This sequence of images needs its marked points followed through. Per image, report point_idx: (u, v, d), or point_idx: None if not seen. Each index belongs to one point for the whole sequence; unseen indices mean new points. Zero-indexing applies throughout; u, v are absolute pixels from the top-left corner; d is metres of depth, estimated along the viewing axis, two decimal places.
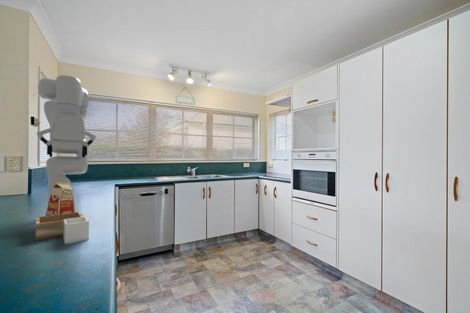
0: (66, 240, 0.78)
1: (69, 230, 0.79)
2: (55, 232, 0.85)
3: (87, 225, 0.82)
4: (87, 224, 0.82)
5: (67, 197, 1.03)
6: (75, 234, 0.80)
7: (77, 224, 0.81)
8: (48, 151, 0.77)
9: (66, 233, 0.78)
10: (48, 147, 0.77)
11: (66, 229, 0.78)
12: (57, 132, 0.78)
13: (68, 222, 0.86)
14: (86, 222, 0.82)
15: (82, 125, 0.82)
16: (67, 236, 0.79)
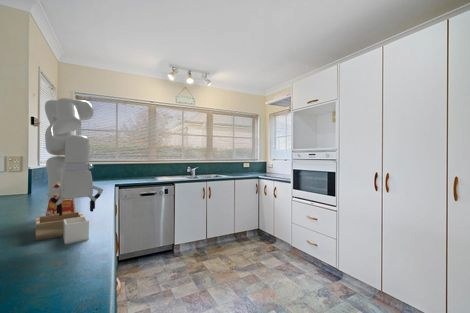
0: (66, 240, 0.78)
1: (69, 230, 0.79)
2: (55, 232, 0.85)
3: (87, 225, 0.82)
4: (87, 224, 0.82)
5: None
6: (75, 234, 0.80)
7: (77, 224, 0.81)
8: (58, 210, 0.79)
9: (66, 233, 0.78)
10: (58, 206, 0.79)
11: (66, 229, 0.78)
12: (66, 191, 0.80)
13: (68, 222, 0.86)
14: (86, 222, 0.82)
15: (90, 181, 0.85)
16: (67, 236, 0.79)
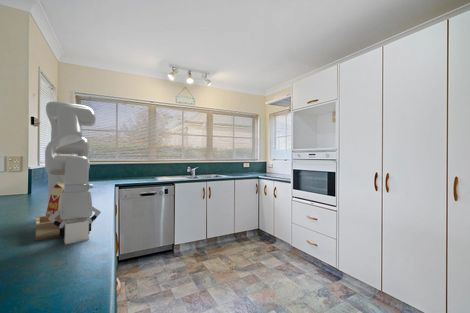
0: (66, 240, 0.78)
1: (69, 230, 0.79)
2: (55, 232, 0.85)
3: (87, 225, 0.82)
4: (87, 224, 0.82)
5: None
6: (75, 234, 0.80)
7: (77, 224, 0.80)
8: (61, 233, 0.80)
9: (66, 233, 0.78)
10: (61, 229, 0.80)
11: (66, 229, 0.78)
12: (66, 213, 0.80)
13: (68, 222, 0.86)
14: (86, 222, 0.82)
15: (89, 202, 0.85)
16: (67, 236, 0.79)
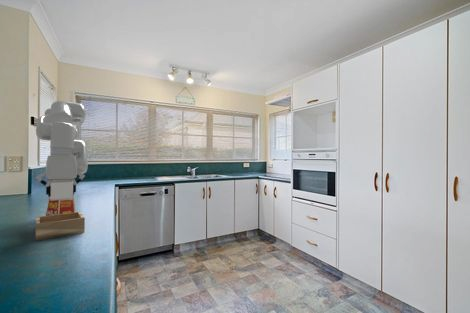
0: (52, 197, 0.86)
1: (54, 188, 0.87)
2: (55, 232, 0.85)
3: (71, 185, 0.90)
4: (71, 184, 0.90)
5: None
6: (60, 192, 0.88)
7: (62, 183, 0.88)
8: (47, 192, 0.88)
9: (52, 191, 0.86)
10: (47, 188, 0.88)
11: (52, 187, 0.86)
12: (52, 173, 0.88)
13: None
14: (70, 182, 0.90)
15: (74, 165, 0.93)
16: (53, 194, 0.86)
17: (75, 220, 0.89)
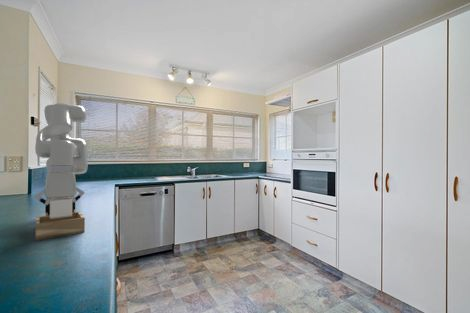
0: (51, 215, 0.86)
1: (54, 206, 0.86)
2: (55, 232, 0.85)
3: (71, 203, 0.90)
4: (71, 202, 0.90)
5: None
6: (59, 210, 0.87)
7: (61, 201, 0.88)
8: (46, 210, 0.88)
9: (51, 209, 0.86)
10: (46, 206, 0.88)
11: (51, 205, 0.86)
12: (51, 191, 0.88)
13: (54, 201, 0.93)
14: (70, 200, 0.90)
15: (73, 182, 0.93)
16: (52, 212, 0.86)
17: (75, 220, 0.89)
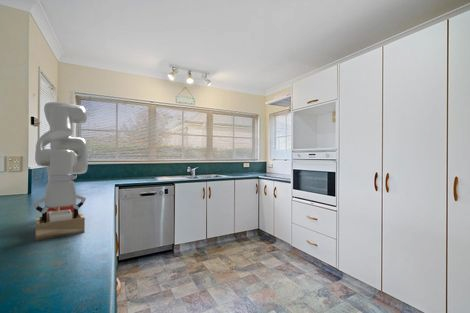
0: None
1: (53, 221, 0.87)
2: (55, 232, 0.85)
3: (70, 217, 0.90)
4: (70, 216, 0.90)
5: None
6: None
7: (61, 216, 0.88)
8: (43, 218, 0.87)
9: None
10: (43, 214, 0.87)
11: (50, 220, 0.86)
12: (51, 201, 0.88)
13: (53, 214, 0.93)
14: (69, 214, 0.90)
15: (73, 191, 0.93)
16: None
17: (75, 220, 0.89)
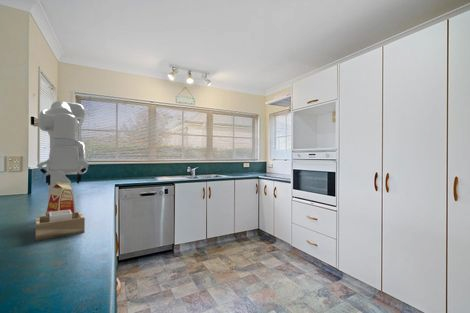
0: None
1: (53, 221, 0.87)
2: (55, 232, 0.85)
3: (70, 217, 0.90)
4: (70, 216, 0.90)
5: (67, 197, 1.03)
6: None
7: (61, 216, 0.88)
8: (47, 180, 0.89)
9: None
10: (47, 177, 0.89)
11: (50, 220, 0.86)
12: (54, 164, 0.90)
13: (53, 214, 0.93)
14: (69, 214, 0.90)
15: (76, 156, 0.94)
16: None
17: (75, 220, 0.89)
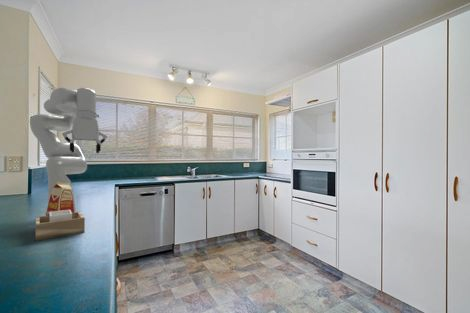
0: None
1: (53, 221, 0.87)
2: (55, 232, 0.85)
3: (70, 217, 0.90)
4: (70, 216, 0.90)
5: (67, 197, 1.03)
6: None
7: (61, 216, 0.88)
8: (71, 148, 0.98)
9: None
10: (71, 144, 0.98)
11: (50, 220, 0.86)
12: (78, 133, 0.99)
13: (53, 214, 0.93)
14: (69, 214, 0.90)
15: (97, 127, 1.04)
16: None
17: (75, 220, 0.89)
